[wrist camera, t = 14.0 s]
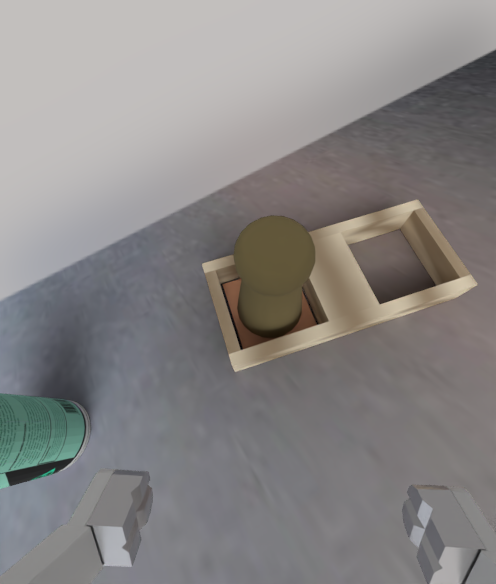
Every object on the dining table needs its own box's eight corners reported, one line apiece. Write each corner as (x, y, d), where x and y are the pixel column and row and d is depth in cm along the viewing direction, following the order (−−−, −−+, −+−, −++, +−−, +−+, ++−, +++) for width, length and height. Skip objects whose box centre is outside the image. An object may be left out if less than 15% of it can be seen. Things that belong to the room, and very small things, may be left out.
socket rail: (403, 218, 31) (417, 199, 28) (455, 298, 27) (477, 284, 25) (207, 278, 29) (201, 263, 26) (235, 372, 25) (232, 366, 23)
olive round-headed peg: (228, 289, 28) (210, 218, 18) (285, 268, 29) (300, 187, 19) (251, 348, 26) (246, 303, 16) (313, 323, 27) (346, 265, 16)
